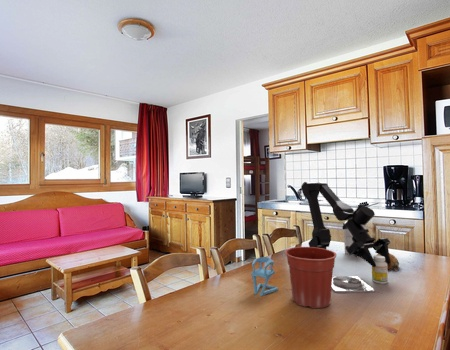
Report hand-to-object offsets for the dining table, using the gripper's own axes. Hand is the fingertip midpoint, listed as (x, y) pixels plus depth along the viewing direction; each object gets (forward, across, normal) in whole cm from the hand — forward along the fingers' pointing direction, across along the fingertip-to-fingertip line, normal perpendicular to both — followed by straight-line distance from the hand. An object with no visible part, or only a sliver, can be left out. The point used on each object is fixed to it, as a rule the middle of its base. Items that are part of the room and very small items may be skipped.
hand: (382, 265), depth 108 cm
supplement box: (-20, -26, -30) cm, 44 cm away
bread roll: (-4, -19, -14) cm, 24 cm away
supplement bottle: (+4, 0, -6) cm, 7 cm away
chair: (-4, +45, -15) cm, 48 cm away
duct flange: (+2, +14, -8) cm, 16 cm away
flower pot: (+5, +35, -5) cm, 36 cm away
